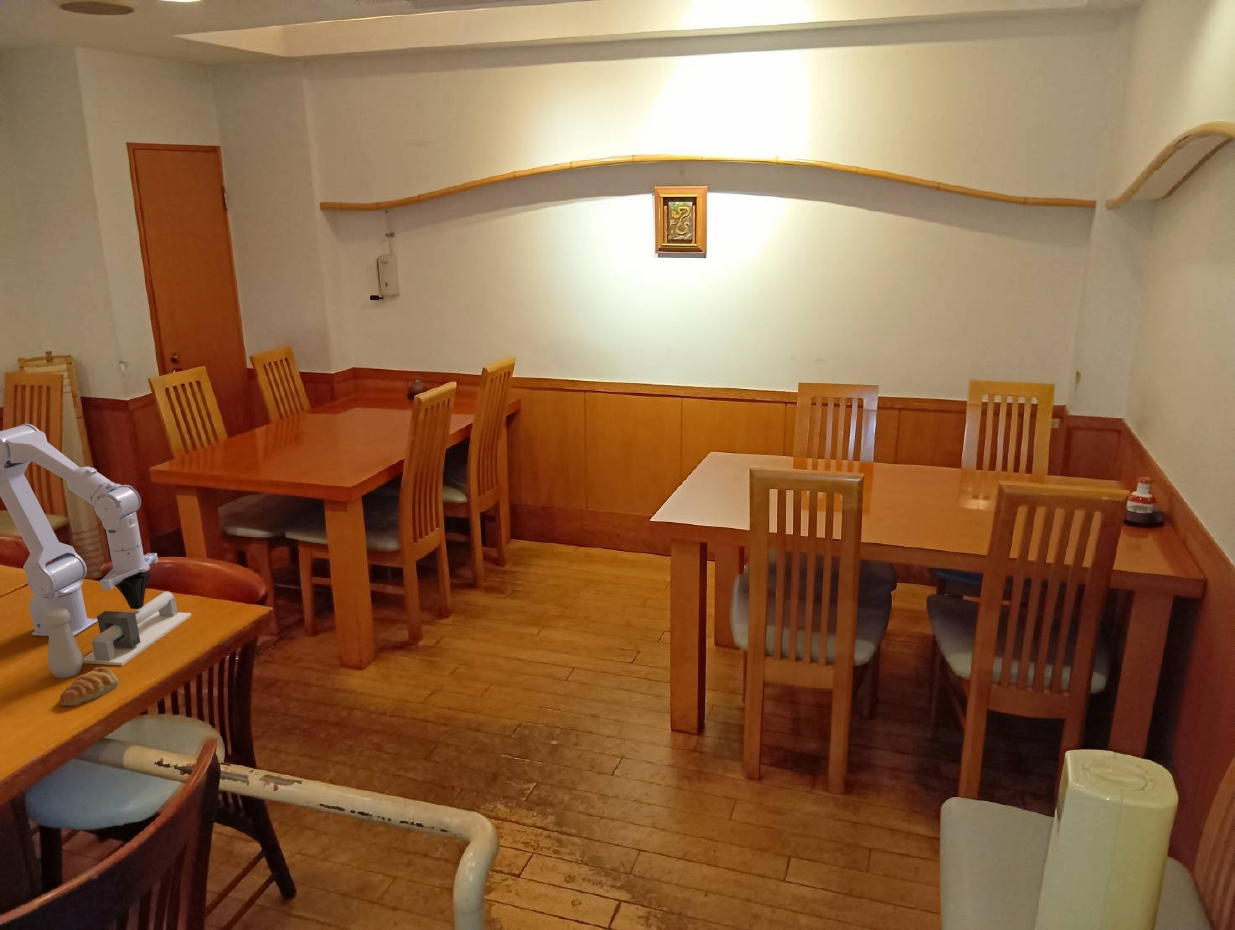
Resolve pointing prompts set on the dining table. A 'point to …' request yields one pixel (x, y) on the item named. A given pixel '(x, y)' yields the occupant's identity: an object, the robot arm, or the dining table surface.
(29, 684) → the dining table surface
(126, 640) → the grey square collar
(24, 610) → the dining table surface
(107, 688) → the pastry
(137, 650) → the pipe rail
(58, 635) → the salt shaker
